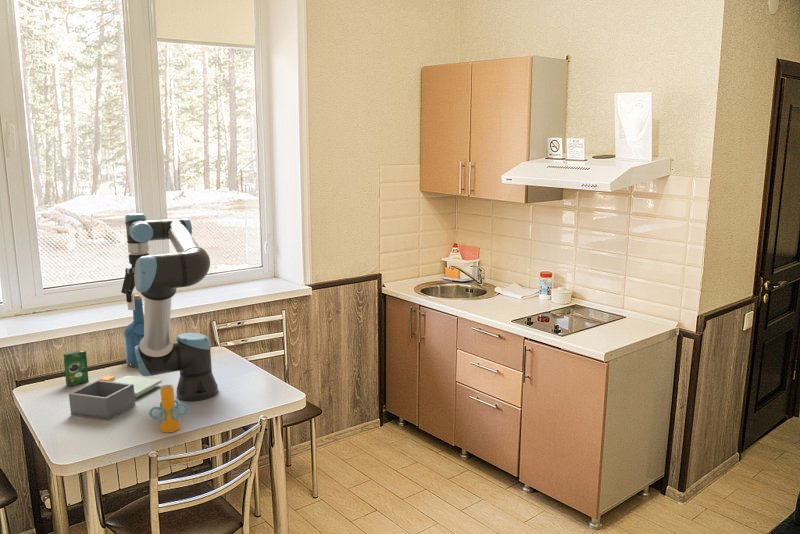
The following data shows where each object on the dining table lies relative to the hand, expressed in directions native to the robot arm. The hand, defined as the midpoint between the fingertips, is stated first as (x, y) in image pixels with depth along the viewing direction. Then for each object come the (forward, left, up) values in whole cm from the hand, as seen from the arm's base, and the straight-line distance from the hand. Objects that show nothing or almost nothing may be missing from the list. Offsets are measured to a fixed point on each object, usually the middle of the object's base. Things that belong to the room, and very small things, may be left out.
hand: (143, 305), depth 264 cm
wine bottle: (+17, -17, -31) cm, 39 cm away
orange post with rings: (-38, +38, -31) cm, 62 cm away
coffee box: (+25, +12, -31) cm, 42 cm away
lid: (+1, +12, -31) cm, 33 cm away
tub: (-4, +31, -31) cm, 44 cm away
